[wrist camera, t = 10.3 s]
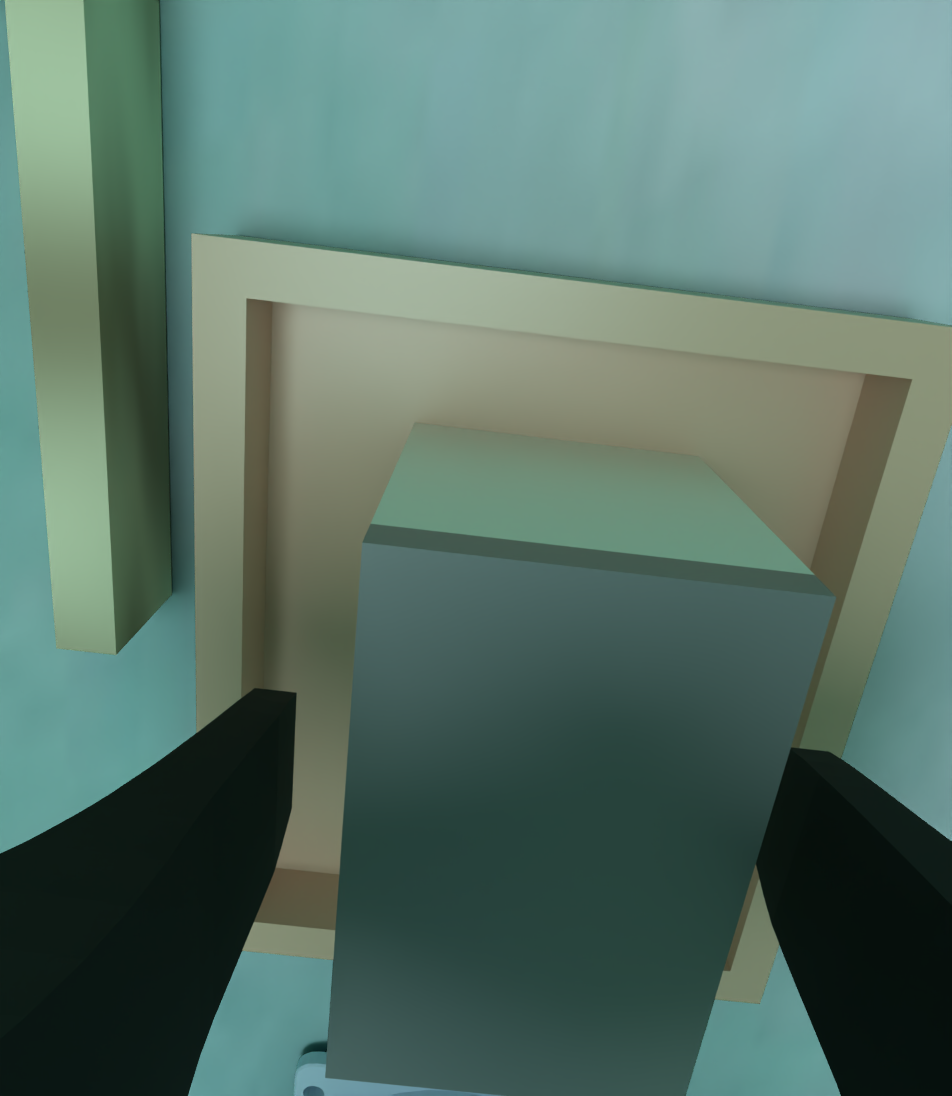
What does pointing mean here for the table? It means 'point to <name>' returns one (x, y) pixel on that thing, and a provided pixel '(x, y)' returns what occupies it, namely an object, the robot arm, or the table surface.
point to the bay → (96, 304)
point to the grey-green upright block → (557, 763)
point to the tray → (531, 410)
